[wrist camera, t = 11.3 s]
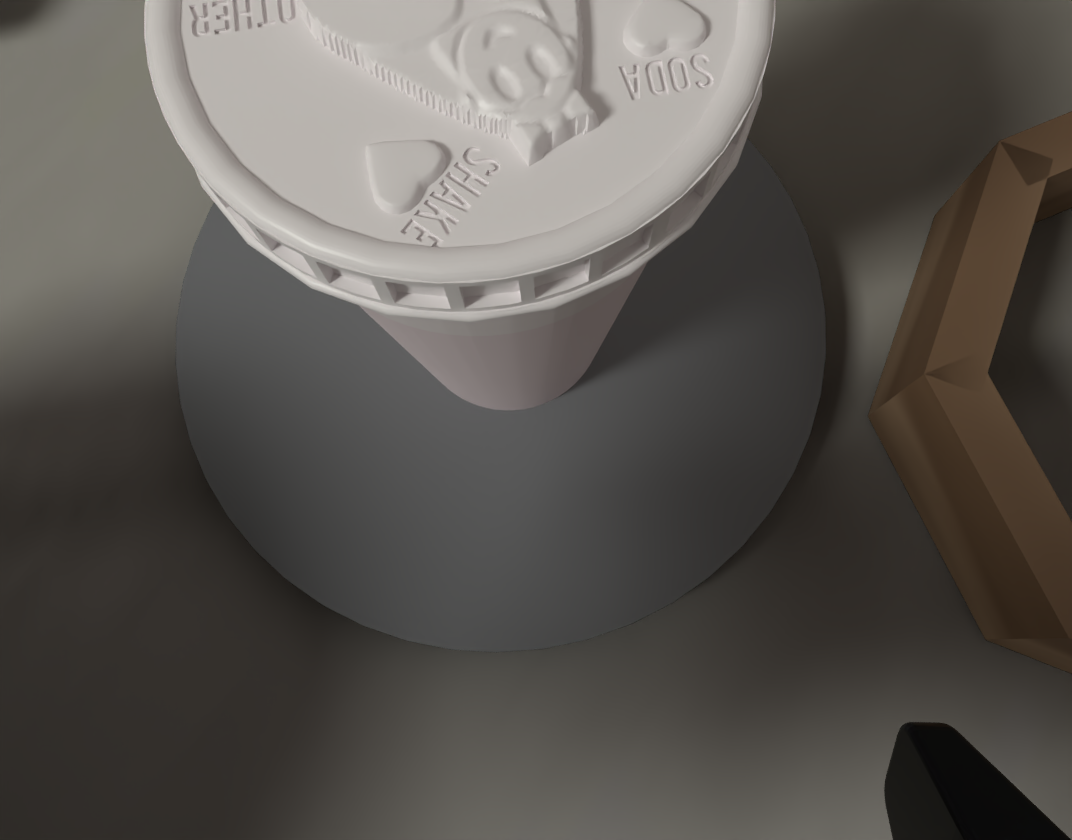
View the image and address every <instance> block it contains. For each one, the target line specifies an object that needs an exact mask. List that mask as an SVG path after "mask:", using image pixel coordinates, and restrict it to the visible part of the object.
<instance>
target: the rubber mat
mask: <svg viewBox="0 0 1072 840" xmlns="http://www.w3.org/2000/svg"><path fill="white" fill-rule="evenodd" d="M825 357H826V325H825V308H824V301H823V295H822V288H821V282H820V275H819V271H818V268H817V264H816V261H815V258H814V254H813V251H812V248H811V244H810V241H809V238H808V235H807V232H806V230H805V228H804V226H803V224H802V221H801V219H800V217H799V215H798V213H797V210H796V208H795V206H794V204H793V202H792V199H791V198H790V196H789V194H788V193H787V191H786V190H785V188H784V186H783V185H782V183H781V182H780V180H779V178H778V177H777V175H776V174H775V172H774V171H773V169H772V167H771V166H770V164H769V163H768V162H767V161H766V160H765V158H764V157H763V156H762V155H761V154H760V152H759V151H758V150H757V149H756V148H755V146H754V145H753V144H752V143H751V141H750V140H749V139H748V138H747V139H746V142H745V145H744V148H743V150H742V153H741V156H740V159H739V161H738V164H737V166H736V168H735V169H734V170H733V172H732V173H731V174H730V176H729V177H728V178H727V180H726V181H725V183H724V184H723V185H722V187H721V188H720V189H719V191H718V192H717V193H716V195H715V196H714V197H713V199H712V200H711V202H710V203H709V204H708V206H707V207H706V208H705V210H704V211H703V212H702V214H701V215H700V217H699V218H698V219H697V221H696V222H695V223H694V225H693V226H692V227H691V228H690V229H689V230H688V231H686V232H685V233H684V234H682V235H681V236H680V237H679V238H677V239H676V240H675V241H673V242H672V243H671V244H670V245H668V246H667V247H666V248H665V249H663V250H662V251H661V252H659V253H658V254H657V255H656V256H654V257H653V258H652V259H651V260H649V261H648V262H647V264H646V266H645V268H644V269H643V271H642V273H641V275H640V276H639V278H638V280H637V282H636V284H635V285H634V287H633V289H632V291H631V293H630V294H629V296H628V298H627V300H626V301H625V303H624V305H623V307H622V309H621V310H620V312H619V314H618V316H617V318H616V319H615V321H614V323H613V325H612V326H611V328H610V330H609V332H608V334H607V335H606V337H605V339H604V341H603V343H602V344H601V346H600V348H599V350H598V351H597V353H596V355H595V357H594V359H593V360H592V362H591V364H590V366H589V367H588V369H587V370H586V372H585V373H584V374H583V375H582V377H581V378H580V379H579V380H578V381H577V382H576V383H575V384H574V385H573V386H572V387H571V388H570V389H568V390H567V391H566V392H564V393H563V394H561V395H560V396H558V397H557V398H555V399H553V400H551V401H549V402H547V403H544V404H542V405H539V406H536V407H532V408H527V409H521V410H495V409H489V408H485V407H481V406H478V405H475V404H472V403H470V402H468V401H466V400H464V399H462V398H460V397H459V396H457V395H455V394H454V393H453V392H451V391H450V390H449V389H447V388H446V387H445V386H444V385H443V384H442V383H441V382H440V381H439V380H438V379H437V378H436V377H435V376H433V375H432V374H431V373H430V372H429V371H428V370H427V369H426V368H425V367H424V366H423V365H422V364H421V363H420V362H418V361H417V360H416V359H415V358H414V357H413V356H412V355H411V354H410V353H409V352H408V351H407V350H406V349H405V348H403V347H402V346H401V345H400V344H399V343H398V342H397V341H396V340H395V339H394V338H393V337H392V336H391V335H390V334H388V333H387V332H386V331H385V330H384V329H383V328H382V327H381V326H380V325H379V324H378V323H377V322H376V321H375V320H374V319H372V318H371V317H370V316H369V315H368V314H367V313H366V312H365V311H364V310H363V309H362V308H361V307H360V306H359V305H356V304H353V303H351V302H348V301H345V300H342V299H339V298H337V297H334V296H331V295H328V294H325V293H323V292H320V291H317V290H314V289H311V288H310V287H308V286H307V285H306V284H304V283H303V282H301V281H300V280H298V279H297V278H296V277H294V276H293V275H291V274H290V273H288V272H287V271H286V270H284V269H283V268H281V267H280V266H278V265H277V264H276V263H274V262H273V261H271V260H270V259H268V258H267V257H266V256H264V255H263V254H261V253H260V252H258V251H257V250H256V249H254V248H253V247H251V246H250V245H248V244H247V242H246V241H245V240H244V239H243V237H242V236H241V235H240V234H239V232H238V231H237V230H236V229H235V227H234V226H233V225H232V224H231V222H230V221H229V220H228V219H227V217H226V216H225V215H224V214H223V213H222V211H221V210H220V209H219V208H218V206H217V205H216V204H215V203H214V204H213V205H212V207H211V209H210V211H209V213H208V215H207V218H206V220H205V222H204V224H203V227H202V229H201V231H200V233H199V235H198V238H197V240H196V242H195V244H194V247H193V251H192V254H191V257H190V261H189V264H188V267H187V271H186V274H185V277H184V281H183V285H182V291H181V298H180V304H179V310H178V316H177V325H176V370H177V379H178V388H179V396H180V403H181V407H182V411H183V415H184V419H185V423H186V427H187V431H188V434H189V438H190V442H191V444H192V447H193V449H194V452H195V454H196V456H197V459H198V461H199V464H200V466H201V468H202V471H203V473H204V476H205V478H206V480H207V482H208V484H209V485H210V487H211V489H212V491H213V492H214V494H215V496H216V497H217V499H218V501H219V502H220V504H221V506H222V507H223V509H224V511H225V512H226V514H227V516H228V517H229V518H230V520H231V521H232V522H233V523H234V525H235V526H236V527H237V528H238V530H239V531H240V532H241V533H242V535H243V536H244V537H245V538H246V540H247V541H248V542H249V543H250V545H251V546H252V547H253V548H254V550H255V551H256V552H258V553H259V554H260V555H261V556H262V557H263V558H264V559H265V560H266V561H267V562H268V563H269V564H270V565H271V566H273V567H274V568H275V569H276V570H277V571H278V572H279V573H280V574H281V575H282V576H283V577H284V578H285V579H286V580H288V581H289V582H291V583H292V584H293V585H295V586H296V587H298V588H299V589H301V590H302V591H303V592H305V593H306V594H308V595H309V596H311V597H312V598H313V599H315V600H316V601H318V602H319V603H321V604H322V605H324V606H326V607H328V608H330V609H331V610H333V611H335V612H337V613H339V614H341V615H343V616H345V617H347V618H349V619H351V620H353V621H355V622H357V623H359V624H361V625H363V626H366V627H369V628H371V629H374V630H377V631H380V632H383V633H386V634H389V635H392V636H394V637H397V638H400V639H403V640H406V641H411V642H416V643H421V644H426V645H431V646H436V647H441V648H446V649H452V650H468V651H484V652H508V651H522V650H535V649H546V648H550V647H555V646H560V645H565V644H569V643H574V642H579V641H584V640H588V639H591V638H594V637H596V636H599V635H602V634H605V633H608V632H610V631H613V630H616V629H619V628H622V627H624V626H627V625H630V624H633V623H634V622H636V621H638V620H640V619H642V618H644V617H646V616H648V615H650V614H652V613H654V612H656V611H658V610H660V609H662V608H663V607H665V606H667V605H669V604H671V603H673V602H674V601H676V600H677V599H679V598H680V597H682V596H683V595H684V594H686V593H687V592H689V591H690V590H691V589H693V588H694V587H696V586H697V585H699V584H700V583H701V582H703V581H704V580H706V579H707V578H709V577H710V576H711V575H712V574H713V573H714V572H715V571H716V570H717V569H718V568H720V567H721V566H722V565H723V564H724V563H725V562H726V561H727V560H728V559H729V558H730V557H731V556H732V555H734V554H735V553H736V552H737V551H738V550H739V549H740V548H741V547H742V546H743V545H744V544H745V542H746V541H747V540H748V539H749V538H750V536H751V535H752V534H753V533H754V531H755V530H756V529H757V528H758V526H759V525H760V524H761V523H762V522H763V520H764V519H765V518H766V517H767V515H768V514H769V513H770V512H771V510H772V508H773V507H774V505H775V503H776V502H777V500H778V499H779V497H780V495H781V494H782V492H783V490H784V489H785V487H786V485H787V484H788V482H789V480H790V479H791V477H792V475H793V473H794V471H795V469H796V466H797V464H798V462H799V459H800V457H801V455H802V452H803V450H804V448H805V445H806V443H807V441H808V438H809V436H810V433H811V429H812V425H813V422H814V418H815V414H816V411H817V407H818V403H819V400H820V396H821V389H822V381H823V373H824V365H825Z"/></svg>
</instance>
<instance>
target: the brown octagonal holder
mask: <svg viewBox="0 0 1072 840" xmlns="http://www.w3.org/2000/svg"><path fill="white" fill-rule="evenodd" d="M1069 208H1072V111H1071V112H1069V113H1067V114H1064V115H1062V116H1059V117H1057V118H1054V119H1052V120H1049V121H1047V122H1044V123H1042V124H1039V125H1037V126H1035V127H1032V128H1030V129H1027V130H1025V131H1022V132H1020V133H1017V134H1015V135H1012V136H1010V137H1008V138H1005V139H1003V140H1000V141H999V142H998V143H997V144H996V146H995V147H994V148H993V149H992V150H991V151H990V152H989V154H988V155H987V156H986V157H985V158H984V159H983V161H982V162H981V163H980V164H979V165H978V166H977V167H976V169H975V170H974V171H973V172H972V173H971V174H970V176H969V177H968V178H967V179H966V180H965V181H964V182H963V184H962V185H961V186H960V187H959V188H958V189H957V191H956V192H955V193H954V194H953V195H952V196H951V197H950V199H949V200H948V201H947V202H946V203H945V204H944V206H943V207H942V208H941V209H940V210H939V211H938V212H937V214H936V215H935V217H934V220H933V223H932V226H931V229H930V232H929V235H928V238H927V241H926V244H925V247H924V250H923V253H922V256H921V259H920V262H919V265H918V268H917V271H916V274H915V277H914V280H913V283H912V286H911V289H910V292H909V295H908V298H907V301H906V304H905V307H904V310H903V313H902V316H901V319H900V322H899V325H898V328H897V331H896V334H895V337H894V340H893V342H892V345H891V348H890V351H889V354H888V357H887V360H886V363H885V366H884V369H883V372H882V375H881V378H880V381H879V384H878V387H877V390H876V393H875V396H874V399H873V402H872V405H871V408H870V411H869V414H868V418H869V420H870V421H871V423H872V425H873V427H874V429H875V431H876V433H877V435H878V437H879V439H880V440H881V442H882V444H883V446H884V448H885V450H886V452H887V454H888V456H889V457H890V459H891V461H892V463H893V465H894V467H895V469H896V471H897V473H898V475H899V476H900V478H901V480H902V482H903V484H904V486H905V488H906V490H907V492H908V494H909V495H910V497H911V499H912V501H913V503H914V505H915V507H916V509H917V511H918V513H919V514H920V516H921V518H922V520H923V522H924V524H925V526H926V528H927V530H928V532H929V533H930V535H931V537H932V539H933V541H934V543H935V545H936V547H937V549H938V550H939V552H940V554H941V556H942V558H943V560H944V562H945V564H946V566H947V568H948V569H949V571H950V573H951V575H952V577H953V579H954V581H955V583H956V585H957V587H958V588H959V590H960V592H961V594H962V596H963V598H964V600H965V602H966V604H967V606H968V607H969V609H970V611H971V613H972V615H973V617H974V619H975V621H976V623H977V625H978V626H979V628H980V630H981V632H982V634H983V636H984V638H985V639H986V640H988V641H990V642H993V643H995V644H998V645H1000V646H1003V647H1005V648H1008V649H1010V650H1013V651H1015V652H1018V653H1021V654H1023V655H1026V656H1028V657H1031V658H1033V659H1036V660H1038V661H1041V662H1043V663H1046V664H1048V665H1051V666H1053V667H1056V668H1058V669H1061V670H1063V671H1066V672H1069V673H1071V674H1072V521H1071V520H1070V518H1069V516H1068V514H1067V512H1066V511H1065V509H1064V507H1063V505H1062V504H1061V502H1060V500H1059V498H1058V497H1057V495H1056V493H1055V491H1054V490H1053V488H1052V486H1051V484H1050V482H1049V481H1048V479H1047V477H1046V475H1045V474H1044V472H1043V470H1042V468H1041V467H1040V465H1039V463H1038V461H1037V460H1036V458H1035V456H1034V454H1033V453H1032V451H1031V449H1030V447H1029V445H1028V444H1027V442H1026V440H1025V438H1024V437H1023V435H1022V433H1021V431H1020V430H1019V428H1018V426H1017V424H1016V423H1015V421H1014V419H1013V417H1012V416H1011V414H1010V412H1009V410H1008V408H1007V407H1006V405H1005V403H1004V401H1003V400H1002V398H1001V396H1000V394H999V393H998V391H997V389H996V387H995V386H994V384H993V382H992V380H991V378H990V377H989V375H988V370H989V367H990V363H991V360H992V357H993V354H994V350H995V347H996V344H997V341H998V337H999V334H1000V331H1001V328H1002V324H1003V321H1004V318H1005V315H1006V311H1007V308H1008V305H1009V302H1010V298H1011V295H1012V292H1013V289H1014V285H1015V282H1016V279H1017V276H1018V272H1019V269H1020V266H1021V263H1022V259H1023V256H1024V253H1025V250H1026V246H1027V243H1028V240H1029V237H1030V233H1031V230H1032V227H1033V224H1034V223H1036V222H1038V221H1040V220H1043V219H1045V218H1048V217H1050V216H1053V215H1055V214H1057V213H1060V212H1062V211H1065V210H1067V209H1069Z"/></svg>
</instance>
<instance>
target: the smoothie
mask: <svg viewBox="0 0 1072 840" xmlns="http://www.w3.org/2000/svg"><path fill="white" fill-rule="evenodd" d="M774 23H775V0H145V9H144V35H145V45H146V53H147V61H148V67H149V71H150V75H151V79H152V83H153V87H154V91H155V94H156V97H157V99H158V102H159V105H160V107H161V110H162V113H163V115H164V118H165V120H166V122H167V124H168V126H169V127H170V129H171V131H172V133H173V135H174V137H175V139H176V141H177V143H178V144H179V146H180V147H181V149H182V150H183V152H184V153H185V155H186V156H187V158H188V159H189V161H190V162H191V164H192V165H193V167H194V168H195V171H196V173H197V176H198V178H199V181H200V183H201V186H202V188H203V189H204V190H205V191H206V193H207V194H208V195H209V196H210V198H211V199H212V200H213V201H214V203H215V204H216V205H217V206H218V208H219V209H220V210H221V211H222V213H223V214H224V215H225V216H226V217H227V219H228V220H229V221H230V222H231V224H232V225H233V226H234V227H235V229H236V230H237V231H238V232H239V234H240V235H241V236H242V237H243V239H244V240H245V241H246V242H247V244H248V245H250V246H251V247H253V248H254V249H256V250H257V251H258V252H260V253H261V254H263V255H264V256H266V257H267V258H268V259H270V260H271V261H273V262H274V263H276V264H277V265H278V266H280V267H281V268H283V269H284V270H286V271H287V272H288V273H290V274H291V275H293V276H294V277H296V278H297V279H298V280H300V281H301V282H303V283H304V284H306V285H307V286H308V287H310V288H311V289H314V290H317V291H320V292H323V293H325V294H328V295H331V296H334V297H337V298H339V299H342V300H345V301H348V302H351V303H353V304H356V305H359V306H360V307H361V308H362V309H363V310H364V311H365V312H366V313H367V314H368V315H369V316H370V317H371V318H372V319H374V320H375V321H376V322H377V323H378V324H379V325H380V326H381V327H382V328H383V329H384V330H385V331H386V332H387V333H388V334H390V335H391V336H392V337H393V338H394V339H395V340H396V341H397V342H398V343H399V344H400V345H401V346H402V347H403V348H405V349H406V350H407V351H408V352H409V353H410V354H411V355H412V356H413V357H414V358H415V359H416V360H417V361H418V362H420V363H421V364H422V365H423V366H424V367H425V368H426V369H427V370H428V371H429V372H430V373H431V374H432V375H433V376H435V377H436V378H437V379H438V380H439V381H440V382H441V383H442V384H443V385H444V386H445V387H446V388H447V389H449V390H450V391H451V392H453V393H454V394H455V395H457V396H459V397H460V398H462V399H464V400H466V401H468V402H470V403H472V404H475V405H478V406H481V407H485V408H489V409H495V410H521V409H527V408H532V407H536V406H539V405H542V404H544V403H547V402H549V401H551V400H553V399H555V398H557V397H558V396H560V395H561V394H563V393H564V392H566V391H567V390H568V389H570V388H571V387H572V386H573V385H574V384H575V383H576V382H577V381H578V380H579V379H580V378H581V377H582V375H583V374H584V373H585V372H586V370H587V369H588V367H589V366H590V364H591V362H592V360H593V359H594V357H595V355H596V353H597V351H598V350H599V348H600V346H601V344H602V343H603V341H604V339H605V337H606V335H607V334H608V332H609V330H610V328H611V326H612V325H613V323H614V321H615V319H616V318H617V316H618V314H619V312H620V310H621V309H622V307H623V305H624V303H625V301H626V300H627V298H628V296H629V294H630V293H631V291H632V289H633V287H634V285H635V284H636V282H637V280H638V278H639V276H640V275H641V273H642V271H643V269H644V268H645V266H646V264H647V262H648V261H649V260H651V259H652V258H653V257H654V256H656V255H657V254H658V253H659V252H661V251H662V250H663V249H665V248H666V247H667V246H668V245H670V244H671V243H672V242H673V241H675V240H676V239H677V238H679V237H680V236H681V235H682V234H684V233H685V232H686V231H688V230H689V229H690V228H691V227H692V226H693V225H694V223H695V222H696V221H697V219H698V218H699V217H700V215H701V214H702V212H703V211H704V210H705V208H706V207H707V206H708V204H709V203H710V202H711V200H712V199H713V197H714V196H715V195H716V193H717V192H718V191H719V189H720V188H721V187H722V185H723V184H724V183H725V181H726V180H727V178H728V177H729V176H730V174H731V173H732V172H733V170H734V169H735V168H736V166H737V164H738V161H739V159H740V156H741V153H742V150H743V148H744V145H745V142H746V139H747V136H748V134H749V131H750V128H751V125H752V123H753V120H754V117H755V114H756V112H757V109H758V106H759V103H760V101H761V98H762V80H763V75H764V72H765V68H766V64H767V61H768V57H769V53H770V49H771V44H772V37H773V30H774Z"/></svg>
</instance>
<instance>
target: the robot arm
mask: <svg viewBox="0 0 1072 840" xmlns="http://www.w3.org/2000/svg"><path fill="white" fill-rule="evenodd" d="M884 792H885V803H886V809H887V814H888V818H889V823H890V828H891V832H892V837H893V840H1071V839H1070V838H1069V837H1068V836H1067V835H1066V834H1065V833H1064V832H1063V831H1061V830H1060V829H1059V828H1058V827H1057V826H1056V825H1055V824H1054V823H1053V822H1052V821H1051V820H1050V819H1049V818H1048V817H1047V816H1046V815H1045V814H1044V813H1043V812H1042V811H1041V810H1039V809H1038V808H1037V807H1036V806H1035V805H1034V804H1033V803H1032V802H1031V801H1030V800H1029V799H1028V798H1027V797H1026V796H1025V795H1024V794H1023V793H1022V792H1021V791H1020V790H1019V789H1017V788H1016V787H1015V786H1014V785H1013V784H1012V783H1011V782H1010V781H1009V780H1008V779H1007V778H1006V777H1005V776H1004V775H1003V774H1002V773H1001V772H1000V771H999V770H998V769H997V768H995V767H994V766H993V765H992V764H991V763H990V762H989V761H988V760H987V759H986V758H985V757H984V756H983V755H982V754H981V753H980V752H979V751H978V750H977V749H976V748H975V747H974V746H972V745H971V744H970V743H969V742H968V741H967V740H966V739H965V738H964V737H963V736H962V735H961V734H960V733H959V732H958V731H957V730H955V729H954V728H953V727H951V726H949V725H948V724H945V723H930V722H909V723H905V724H904V725H903V726H902V727H901V728H900V730H899V732H898V735H897V738H896V742H895V745H894V749H893V753H892V756H891V760H890V764H889V767H888V771H887V774H886V779H885V787H884Z"/></svg>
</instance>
